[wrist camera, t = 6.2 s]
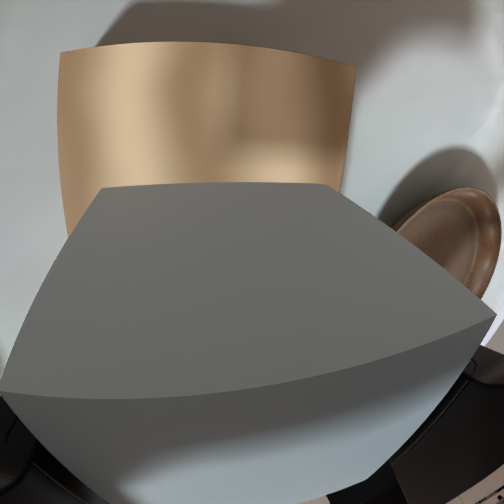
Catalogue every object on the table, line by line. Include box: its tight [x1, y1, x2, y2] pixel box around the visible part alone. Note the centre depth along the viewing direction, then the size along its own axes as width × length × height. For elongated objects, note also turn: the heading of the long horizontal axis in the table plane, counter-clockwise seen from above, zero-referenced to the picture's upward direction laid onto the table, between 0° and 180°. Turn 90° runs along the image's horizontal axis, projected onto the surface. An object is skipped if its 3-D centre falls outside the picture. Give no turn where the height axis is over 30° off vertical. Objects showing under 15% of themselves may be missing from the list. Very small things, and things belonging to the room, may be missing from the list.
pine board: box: [57, 42, 356, 238], centre depth 16 cm, size 14×14×4 cm
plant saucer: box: [391, 187, 501, 300], centre depth 25 cm, size 21×21×3 cm
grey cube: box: [0, 182, 497, 504], centre depth 6 cm, size 6×6×6 cm
